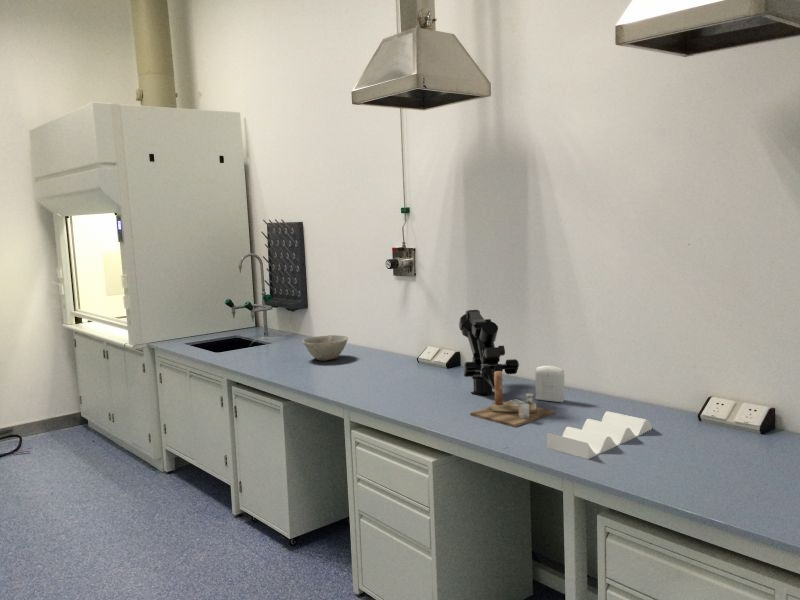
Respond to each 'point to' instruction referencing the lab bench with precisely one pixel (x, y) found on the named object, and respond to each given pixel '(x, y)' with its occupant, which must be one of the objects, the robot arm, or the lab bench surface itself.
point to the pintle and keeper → (523, 405)
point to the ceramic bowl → (325, 346)
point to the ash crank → (499, 397)
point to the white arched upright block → (549, 383)
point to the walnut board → (510, 416)
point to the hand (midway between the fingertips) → (495, 388)
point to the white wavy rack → (598, 435)
